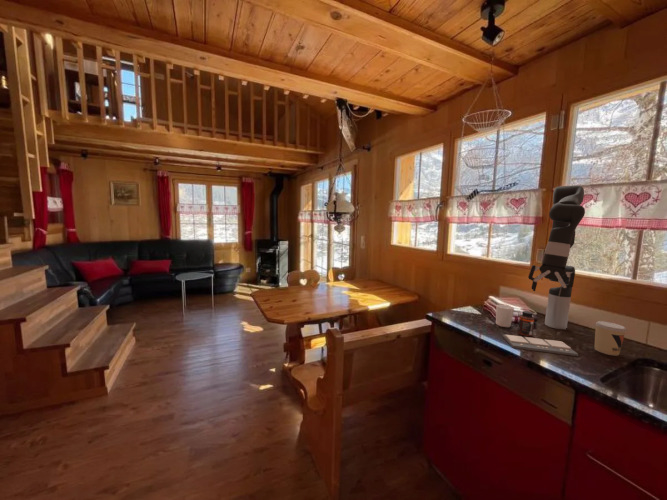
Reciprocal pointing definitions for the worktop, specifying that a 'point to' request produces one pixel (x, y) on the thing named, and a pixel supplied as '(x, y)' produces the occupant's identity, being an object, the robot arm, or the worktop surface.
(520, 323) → the supplement bottle
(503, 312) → the white cup
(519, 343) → the tile board
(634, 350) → the worktop surface
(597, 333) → the coffee cup
